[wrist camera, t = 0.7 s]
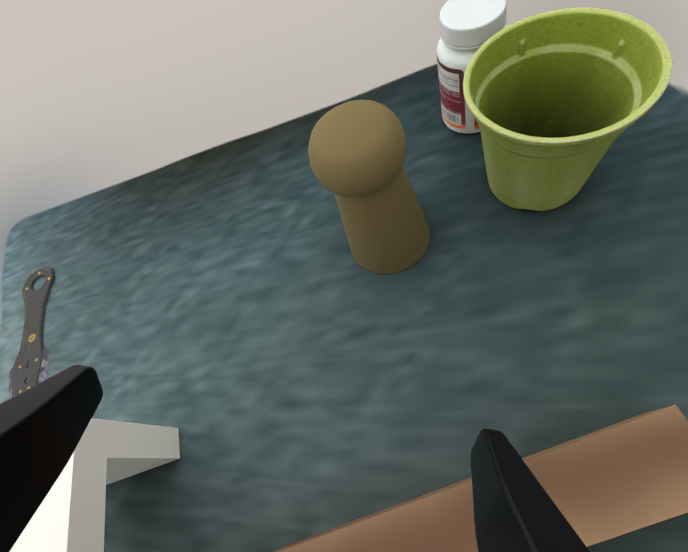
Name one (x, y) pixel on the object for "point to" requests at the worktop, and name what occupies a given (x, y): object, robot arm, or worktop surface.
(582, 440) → the walnut bar
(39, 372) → the throwing knife
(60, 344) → the worktop surface
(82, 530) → the white bridge block
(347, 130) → the cork
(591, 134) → the plant pot
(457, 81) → the pill bottle
